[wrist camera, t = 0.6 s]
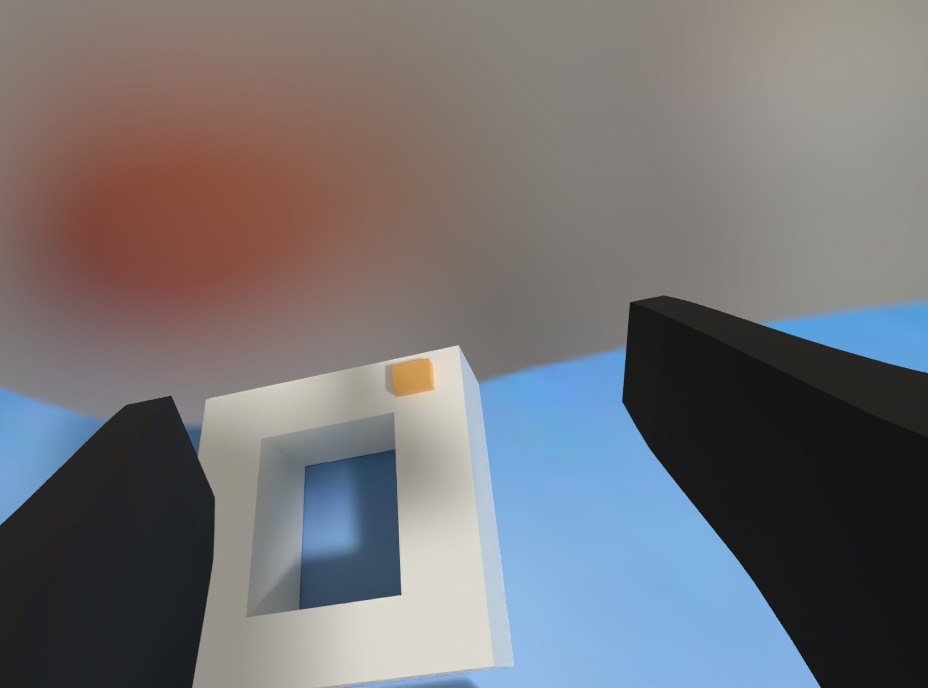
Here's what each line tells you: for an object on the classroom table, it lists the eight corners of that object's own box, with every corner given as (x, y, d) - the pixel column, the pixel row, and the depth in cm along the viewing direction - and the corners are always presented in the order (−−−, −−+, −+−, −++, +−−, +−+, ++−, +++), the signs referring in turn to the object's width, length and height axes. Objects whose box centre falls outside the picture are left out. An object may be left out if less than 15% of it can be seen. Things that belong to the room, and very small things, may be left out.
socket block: (514, 666, 22) (489, 666, 18) (228, 701, 24) (150, 707, 20) (479, 384, 28) (455, 338, 24) (253, 429, 30) (197, 393, 26)
